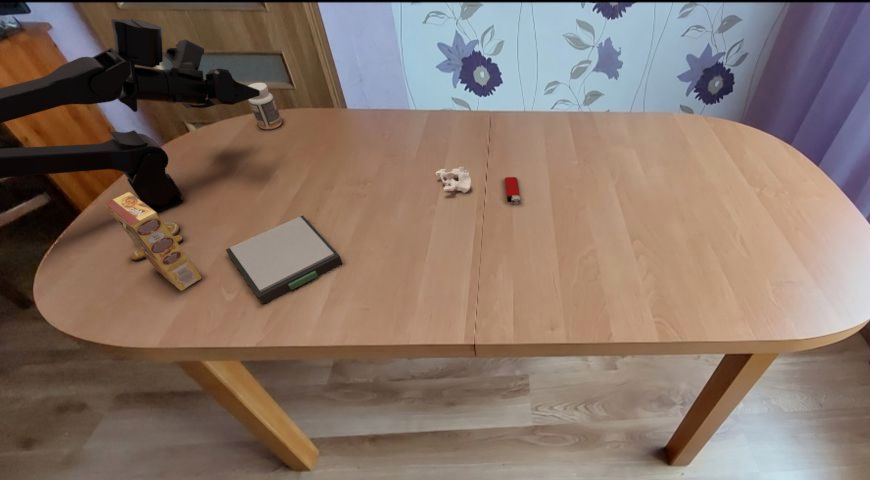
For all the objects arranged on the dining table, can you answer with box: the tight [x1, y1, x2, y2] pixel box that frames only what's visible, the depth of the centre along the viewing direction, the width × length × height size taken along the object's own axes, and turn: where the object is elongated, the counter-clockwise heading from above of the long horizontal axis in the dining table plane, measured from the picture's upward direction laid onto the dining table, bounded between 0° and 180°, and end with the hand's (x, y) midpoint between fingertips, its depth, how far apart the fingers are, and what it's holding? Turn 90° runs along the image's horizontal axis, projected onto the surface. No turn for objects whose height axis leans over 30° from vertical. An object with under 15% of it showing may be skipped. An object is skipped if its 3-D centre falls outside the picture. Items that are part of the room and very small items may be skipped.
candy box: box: [104, 191, 202, 292], centre depth 78 cm, size 9×4×15 cm, turn 54°
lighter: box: [504, 176, 521, 205], centre depth 101 cm, size 3×1×8 cm
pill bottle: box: [248, 82, 283, 130], centre depth 115 cm, size 6×6×10 cm
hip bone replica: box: [435, 166, 472, 194], centre depth 101 cm, size 8×4×7 cm
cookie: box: [129, 222, 183, 261], centre depth 88 cm, size 8×1×10 cm
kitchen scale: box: [225, 215, 343, 305], centre depth 85 cm, size 15×16×3 cm
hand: (248, 94), depth 99 cm, fingers open, 9 cm apart
